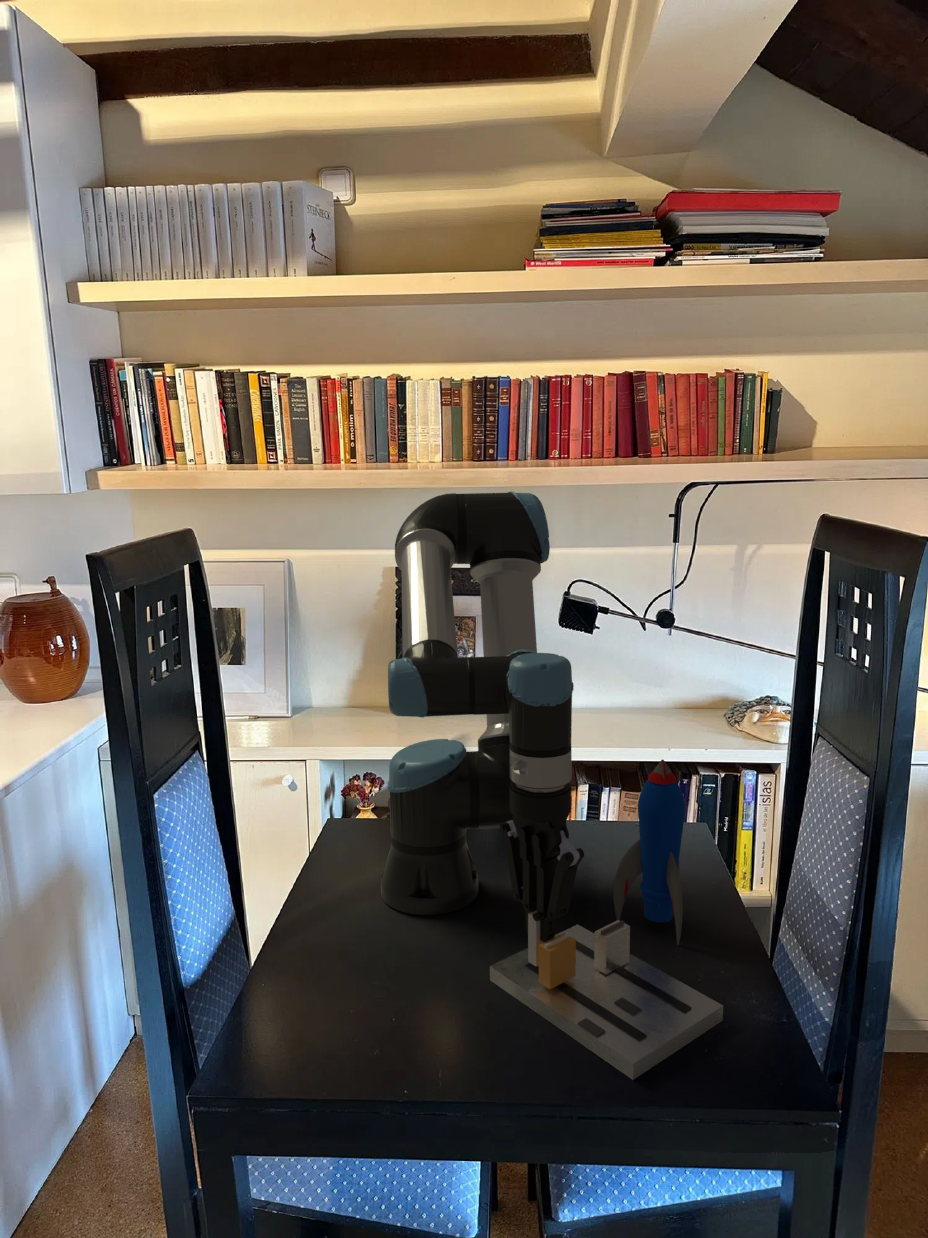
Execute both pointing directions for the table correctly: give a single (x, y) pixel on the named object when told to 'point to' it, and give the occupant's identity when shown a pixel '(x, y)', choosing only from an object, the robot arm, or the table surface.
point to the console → (613, 1001)
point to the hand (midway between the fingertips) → (540, 960)
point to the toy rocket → (656, 851)
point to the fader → (557, 960)
